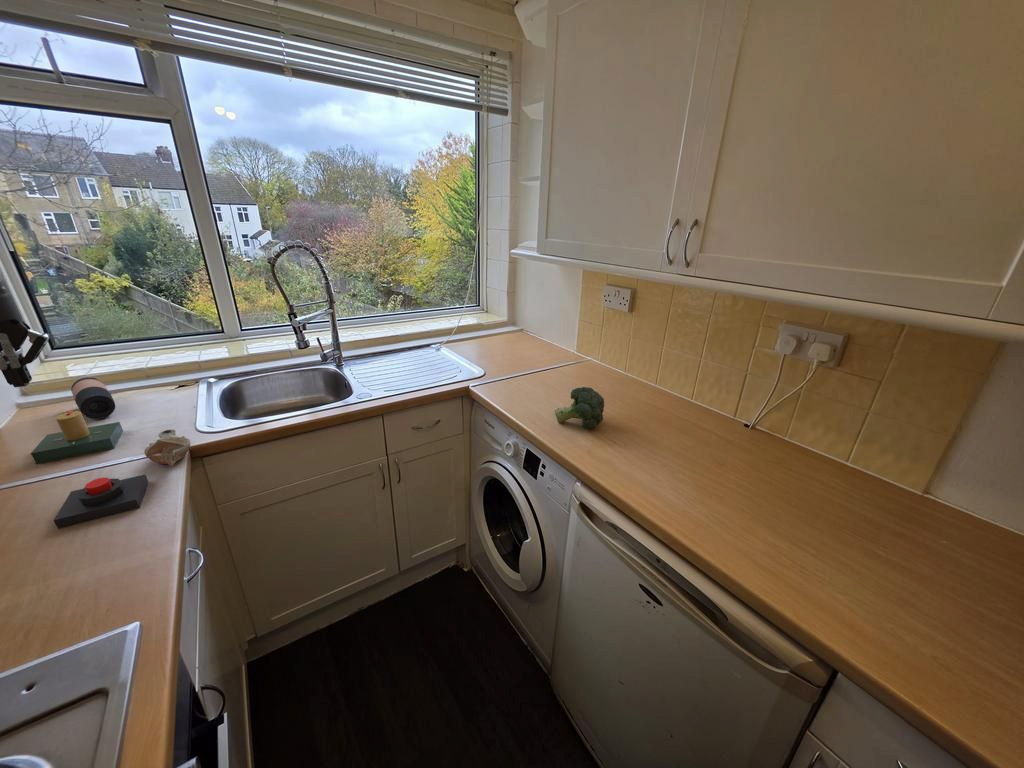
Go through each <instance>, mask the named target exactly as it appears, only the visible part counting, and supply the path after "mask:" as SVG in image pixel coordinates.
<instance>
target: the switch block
mask: <svg viewBox="0 0 1024 768" xmlns="http://www.w3.org/2000/svg"><path fill="white" fill-rule="evenodd" d="M109 479H110V481H111V484H112V487H111V488H110V489H109V490H106V491H104V492H102V493H99V494H94V495H89V494H88V492H87V490H86V488H85V487H82V488H80V489H75V490H71V491H70V492H69V494H68V496H67V498H66V499H65V501H64V502H63V503H62V505H61V506H60V509H59V511H58V512H57V514H56V515H55V517H54V519H53V522H54V524H55V527H56V528H57V530H60V529H65V528H68V527H73V526H75V525H79V524H84V523H88V522H91V521H95V520H98V519H99V520H100V519H103V518H106V517H110V516H115V515H118V514H123V513H126V512H130V511H135V510H137V509H140V508H141V505H142V502H143V500H144V497H145V494H146V491H147V488H148V485H149V483H150V482H149V479H148V477H147V475H146V473H145V474H140V475H137V476H132V477H126V478H123V479H119V478H109Z"/></svg>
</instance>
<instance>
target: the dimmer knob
mask: <svg viewBox="0 0 1024 768" xmlns="http://www.w3.org/2000/svg"><path fill="white" fill-rule="evenodd" d="M83 416H84V415H83V414H82V412H81V411H80V410H75V411H72V410H68V412H65V413H61V414H59V415H57V416H56V417H55V420H56V423H57V424H58V427H59V429H60V432H62V433H63V435H64V437H65V439H66V440H68V441H72V440H78V439H81V438H84V437H86V436H88V435H89V434H90V432H89V429H88V427H89V426H88V425H87V422H86V421H85V418H84V417H83Z"/></svg>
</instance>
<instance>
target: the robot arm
mask: <svg viewBox="0 0 1024 768" xmlns="http://www.w3.org/2000/svg"><path fill="white" fill-rule="evenodd" d="M27 338H28V342H29V343H31V346H30V347H29V349H28V350H27V352H26V353H25V355H24V349H23V345H24V343H25V342H26V340H27ZM50 339H51V334H49V333H47V332H43V333H41V332H39V331H35V330H33V329H31V326H29V325H28V323H26V322H25V321H24V320H23V317H22V315H21V312H20V310H19V308H18V305H17V304H16V301H15V299H14V297H13V294H12V293H11V291H10V289H9V287H8V284H7V282H6V280H5V278H4V277H3V275H2V274H1V273H0V371H1V373H2V375H3V377H4V379H5V381H6V383H7V384H8V385H9V386H13V387H14V388H23V387H27V386H28V385H30V382H31V381H32V380H33V377H32V375H31V373H30V370H29V368H28V367H27V365H28V364H32V363H33V362H34V361H36V360H37V359H38V358H39V356H40V354H41V353H42V351H43V349H44V348H45V346H46V345H47V343H49V340H50Z"/></svg>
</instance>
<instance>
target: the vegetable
mask: <svg viewBox="0 0 1024 768" xmlns="http://www.w3.org/2000/svg"><path fill="white" fill-rule="evenodd" d="M570 399H571V400H573V401H572V403H571V404H570V406H566V407H565V406H564V407H562V408H559V407H558V408H556V409H554V414H555V415H554V416H555V418H556V421H557V422H558V423H559V424H560V423H565V422H566V421H568V420H570V419H578V420H581V427H582V429H584V430H589V431H593V430H594V429H595V428H596V426H598V425H599V424H601V423H602V422H603V420H604V414H603V413H604V410H605V399H604V398H603V396H602V395H601V394H599V391H596V390H594V388H593V387H588V386H582V387H575V388H574V389H572V390H571V392H570Z"/></svg>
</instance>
